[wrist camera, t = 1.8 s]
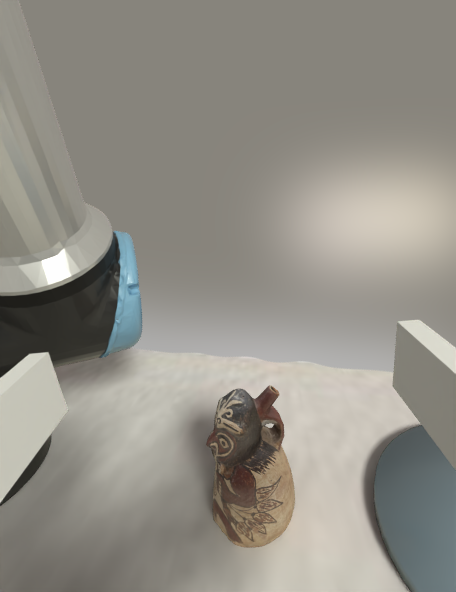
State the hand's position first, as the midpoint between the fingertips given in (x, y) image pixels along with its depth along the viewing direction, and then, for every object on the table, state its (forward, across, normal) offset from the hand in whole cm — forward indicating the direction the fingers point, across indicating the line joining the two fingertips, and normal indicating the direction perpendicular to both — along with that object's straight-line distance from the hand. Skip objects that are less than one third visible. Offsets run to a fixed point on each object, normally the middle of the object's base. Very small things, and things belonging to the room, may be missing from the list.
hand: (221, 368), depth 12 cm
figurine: (+10, 0, -20) cm, 22 cm away
